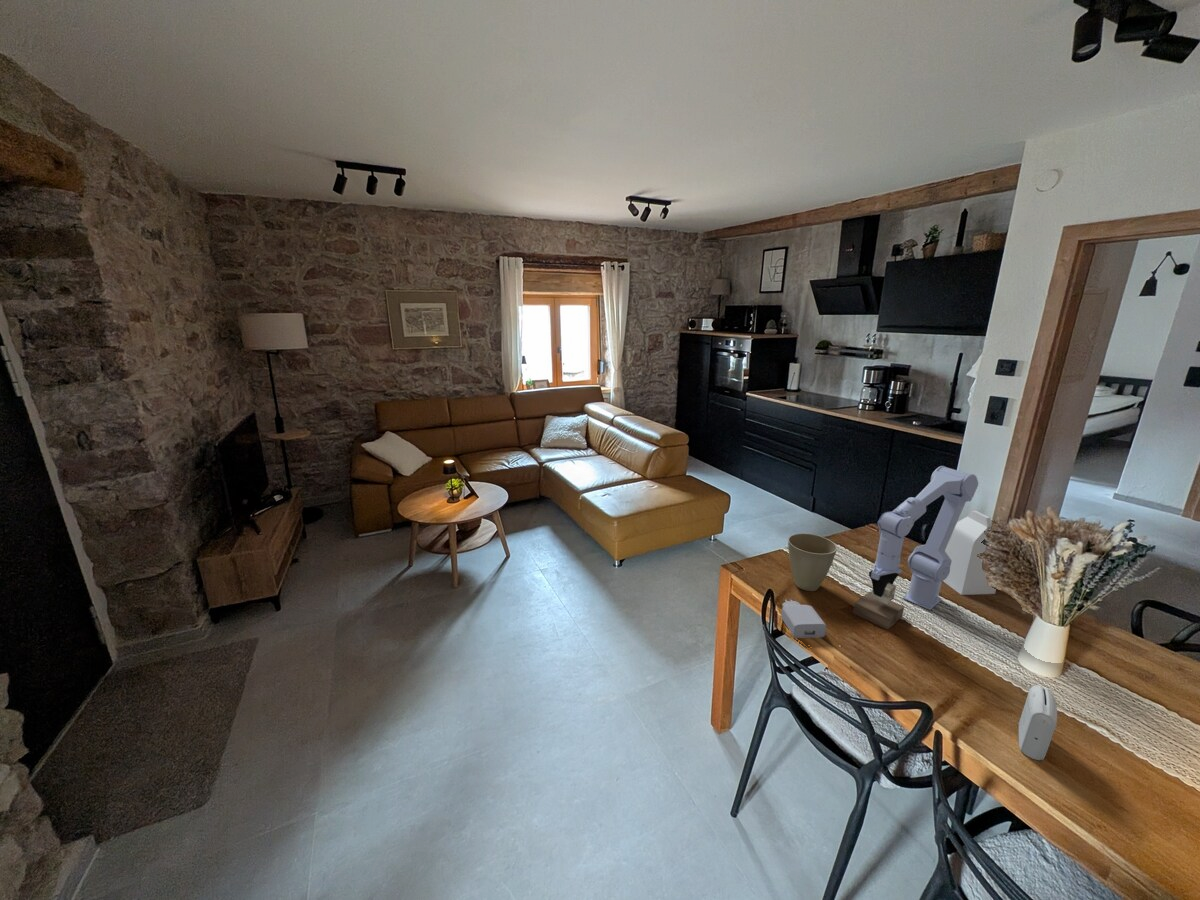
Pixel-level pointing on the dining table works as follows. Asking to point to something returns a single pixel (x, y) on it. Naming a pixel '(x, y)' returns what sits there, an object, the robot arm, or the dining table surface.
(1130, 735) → the dining table surface
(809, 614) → the charger
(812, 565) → the plant pot
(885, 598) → the maple cube
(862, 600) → the walnut block
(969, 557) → the milk
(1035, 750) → the photo printer
